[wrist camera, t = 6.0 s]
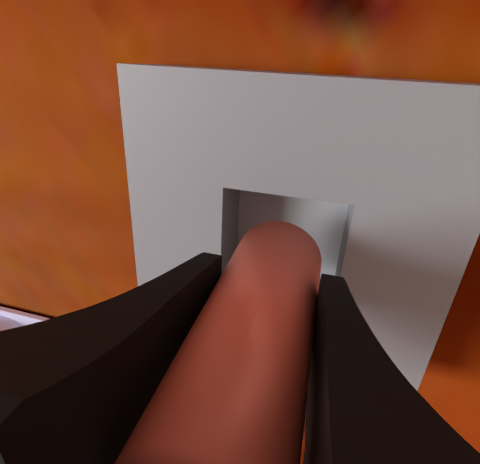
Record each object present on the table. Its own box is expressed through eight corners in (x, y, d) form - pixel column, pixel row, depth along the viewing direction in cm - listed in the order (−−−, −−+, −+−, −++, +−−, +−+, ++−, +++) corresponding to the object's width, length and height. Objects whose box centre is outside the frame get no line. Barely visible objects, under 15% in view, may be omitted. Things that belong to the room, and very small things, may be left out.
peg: (315, 300, 13) (282, 588, 6) (237, 286, 13) (123, 530, 6) (327, 227, 11) (301, 489, 4) (239, 215, 12) (96, 427, 5)
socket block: (400, 353, 17) (410, 407, 14) (170, 304, 19) (143, 341, 17) (492, 84, 11) (536, 89, 9) (158, 64, 14) (116, 63, 11)
